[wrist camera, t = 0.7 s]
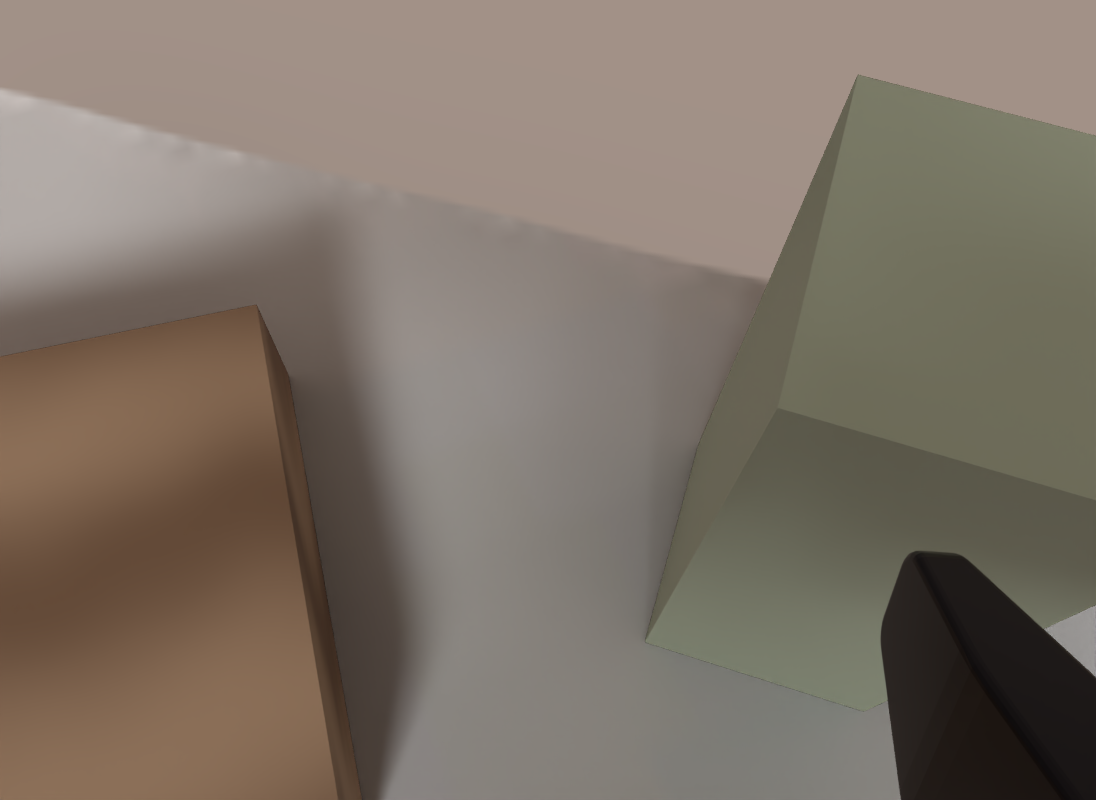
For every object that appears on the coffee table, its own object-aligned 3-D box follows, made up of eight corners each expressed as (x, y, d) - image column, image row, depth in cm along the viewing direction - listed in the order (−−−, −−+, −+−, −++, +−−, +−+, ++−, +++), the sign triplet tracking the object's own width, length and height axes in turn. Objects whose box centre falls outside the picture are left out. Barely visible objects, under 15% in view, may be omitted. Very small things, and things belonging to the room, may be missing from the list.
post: (863, 711, 23) (1235, 540, 11) (644, 642, 23) (778, 407, 12) (900, 505, 25) (1249, 174, 13) (698, 445, 25) (857, 74, 14)
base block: (369, 840, 22) (344, 834, 18) (-195, 994, 20) (-329, 1016, 17) (288, 374, 26) (256, 304, 23) (-181, 474, 24) (-286, 414, 21)
